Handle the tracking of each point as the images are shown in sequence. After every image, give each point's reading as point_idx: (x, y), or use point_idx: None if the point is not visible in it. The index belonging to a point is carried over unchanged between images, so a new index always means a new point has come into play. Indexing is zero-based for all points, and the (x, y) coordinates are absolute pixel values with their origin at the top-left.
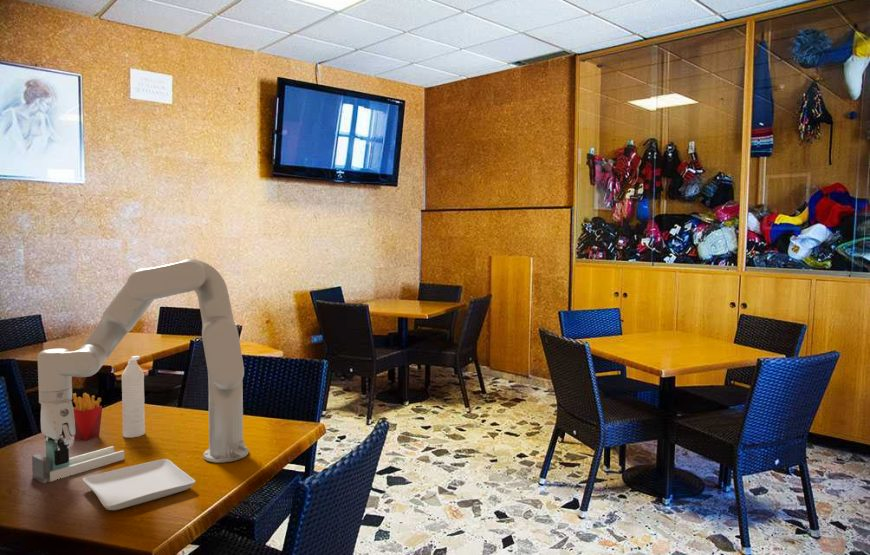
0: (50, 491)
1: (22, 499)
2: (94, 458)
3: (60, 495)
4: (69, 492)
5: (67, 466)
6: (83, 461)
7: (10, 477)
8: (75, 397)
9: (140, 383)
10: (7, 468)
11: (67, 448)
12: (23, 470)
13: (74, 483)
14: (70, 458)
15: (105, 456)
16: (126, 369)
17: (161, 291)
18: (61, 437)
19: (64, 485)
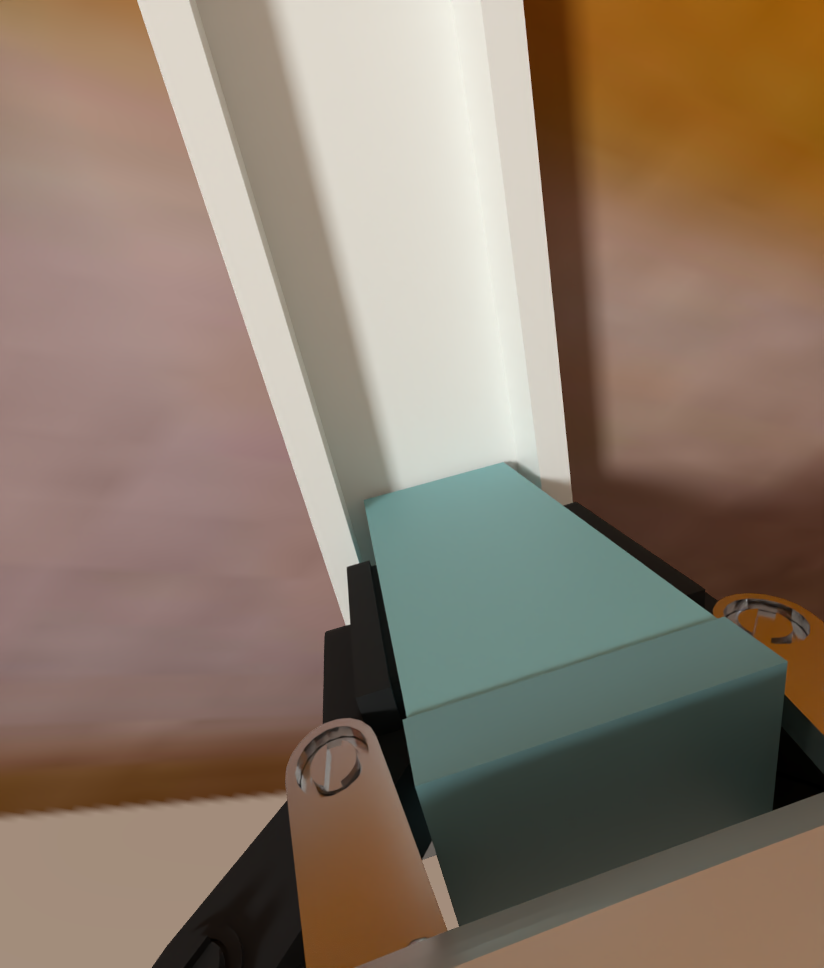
0: (709, 591)
1: None
2: (503, 183)
3: (812, 549)
4: (816, 501)
5: (548, 494)
6: (324, 291)
7: (270, 782)
8: None
9: None
10: (28, 815)
11: (750, 607)
12: (155, 725)
13: (704, 450)
14: (308, 432)
15: (522, 14)
16: None
17: None
18: (447, 794)
19: (684, 512)
